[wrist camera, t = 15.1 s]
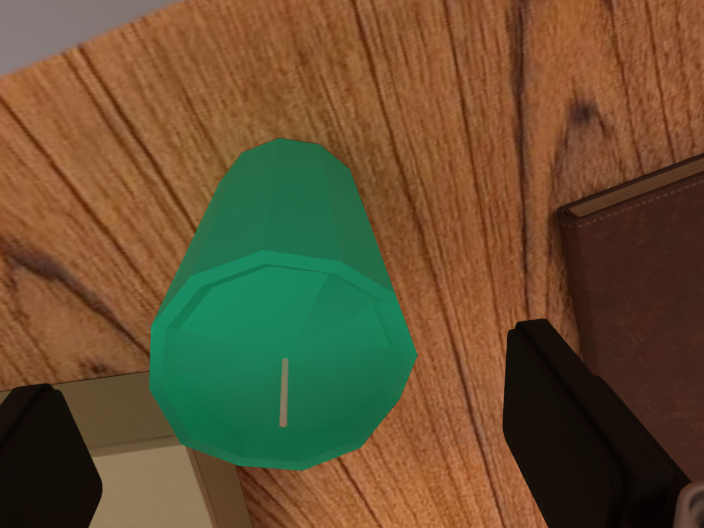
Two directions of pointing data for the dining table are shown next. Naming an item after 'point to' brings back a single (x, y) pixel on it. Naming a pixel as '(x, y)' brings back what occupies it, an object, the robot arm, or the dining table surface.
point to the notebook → (645, 300)
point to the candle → (280, 318)
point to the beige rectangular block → (149, 461)
